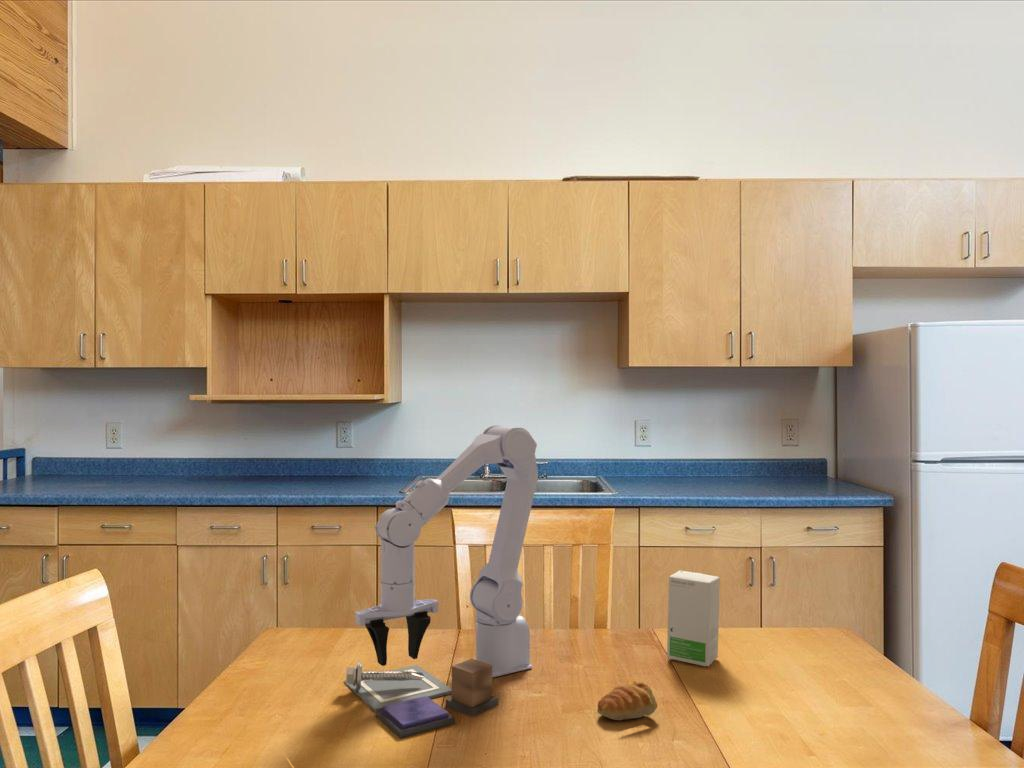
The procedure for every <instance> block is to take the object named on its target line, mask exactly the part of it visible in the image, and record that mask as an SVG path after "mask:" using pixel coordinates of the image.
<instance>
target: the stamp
mask: <svg viewBox="0 0 1024 768" xmlns="http://www.w3.org/2000/svg"><path fill="white" fill-rule="evenodd" d="M451 689H452V694H451V696H450V697H448V698H446V699H445V707H446V708H448V709H451V710H454V711H457V712H459V713H461V714H465V715H466V716H469V717H471V718H473V717H475V716H477V715H480V714H482V713H484V712H486V711H489V710H491V709H493V708H495V707H498V706H499V697H497V696H493V677H492V665H490V664H487V663H484V662H481V661H478V660H476V659H475V658H469V659H467V660H465V661H462V662H460V663H457V664H454V665H452V666H451Z"/></svg>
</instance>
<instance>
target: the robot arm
mask: <svg viewBox="0 0 1024 768" xmlns="http://www.w3.org/2000/svg"><path fill="white" fill-rule="evenodd" d="M536 451H537V442H536V441H535V439H534V437H533V436H532V435H531V432H529V431H528V430H527V429H526V428H523V427H519V426H516V427H509V426H501V425H495V424H493V425H490V426H489V427H487V428H486V429H484V431H483V432H482V433H480V434H478V435H476V436H475V438H474V439H473V441H472V442H471V443H470V445H469V446H467V448H466V449H464V451H463V452H462V453H461V454H459V456H457V458H456V459H455V460H454V461H452V462H451V464H450V465H448V466H447V468H446V469H444V471H442V473H441V474H439V475H438V477H437V478H430V477H429V478H426V479H425V480H418V481H417V482H416V483H415V485H414V486H415V488H414V489H413V490H412V491H411V492H410V493H409V494H408V495H406V497H405V498H403V499H402V500H399V499H398V500H397V501H396V502H395V503H394V505H395V508H388V509H387V510H385V511H383V512H381V514H380V516H379V517H378V519H379V520H378V521H377V522H376V523H377V524H375V525H374V529H375V533H376V534H377V536H378V538H379V539H380V604H379V605H377V606H376V605H375V606H373V607H369V608H366V609H362V610H358V611H354V613H355V614H354V623H355V624H356V625H357V626H359V627H362V626H365V628H366V630H367V632H368V634H369V636H370V640H371V642H372V643H373V646H374V650H375V654H376V660H377V663H378V664H379V665H380V666H382V667H384V666H387V662H388V654H387V653H388V652H387V651H388V650H387V648H388V647H387V645H388V637H389V631H390V627H388V626H387V625H386V622H385V621H387V620H388V621H389V620H395V619H399V618H404V617H405V619H406V625H407V634H408V635H407V636H408V638H407V639H408V641H407V649H408V651H407V653H408V657H409V658H411V659H413V660H417V659H418V657H419V653H420V652H419V651H420V648H421V644H422V642H423V638H424V636H425V633H426V631H427V629H428V628H429V625H430V624H431V620H432V619H431V616H430V615H428V613H429V614H430V613H431V614H435V613H439V600H436V599H434V598H430V599H429V598H428V599H416V600H415V542H417V541H418V539H419V537H420V534H421V530H422V528H423V527H424V526H425V525H427V523H428V522H429V521H431V519H433V518H434V517H435V516H436V515H437V514H438V513H439V512H440V511H442V510H443V508H444V507H445V506H446V505H448V504H449V502H450V501H449V500H450V493H451V492H452V491H453V490H455V488H457V487H458V486H460V485H461V484H462V483H463V482H464V481H465V480H468V478H469V477H470V476H471V475H473V474H474V473H475V472H477V471H478V469H479V470H480V468H482V466H485V465H493V464H495V465H497V466H498V467H499V468H500V471H502V473H503V474H504V477H506V479H507V480H506V485H505V489H504V493H503V494H504V495H503V498H502V502H501V503H502V504H501V507H500V512H499V515H498V518H497V519H498V520H497V524H496V528H495V534H494V537H493V540H492V541H493V542H492V544H491V550H490V554H489V558H488V562H487V563H486V564H485V565H484V566H482V567H481V569H480V570H479V573H478V577H477V579H476V581H475V582H474V583H473V584H472V587H471V588H470V590H469V591H470V593H469V600H470V604H471V605H472V607H473V608H474V609H475V621H476V623H475V625H476V626H475V636H476V637H475V642H476V643H475V646H476V647H475V648H476V649H475V658H476V659H475V660H478V661H481V662H484V663H487V664H490V665H492V678H496V677H500V676H505V675H508V674H513V673H517V672H520V671H525V670H529V669H533V665H532V664H531V663H530V662H531V661H530V660H531V659H530V658H531V647H530V646H531V637H530V636H531V634H530V627H529V624H528V621H527V619H526V618H525V617H524V616H522V615H521V612H522V610H523V596H522V590H523V585H524V584H523V580H522V578H521V576H520V574H519V570H518V567H519V564H520V559H521V554H522V551H523V550H522V549H523V545H524V541H525V537H526V532H527V528H528V523H529V518H530V513H531V511H532V506H533V501H534V496H535V492H536V488H537V484H538V478H539V470H538V463H537V459H536Z"/></svg>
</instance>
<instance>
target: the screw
mask: <svg viewBox="0 0 1024 768" xmlns="http://www.w3.org/2000/svg"><path fill="white" fill-rule="evenodd" d="M362 669H363V662H361V660H358V661H357V665H354V667H347V668H346V676H345V678H346V679H345V680H346V684H353V686H355V685H356V692H358V690H360V687H361V681H362V682H363V681H369V682H370V681H376V682H377V681H380V682H381V681H387V682H388V681H394V682H395V681H401V682H402V681H409V680H422V679H423V678H424V674H423V673H422V672H408V671H407V672H406V671H401V670H400V671H394V670H395V669H393V671H392V670H388V671H387V670H386V669H385V670H380V669H378V671H377V669H376V670H371V671H370V670H367V671H366V670H362ZM346 684H345V685H346Z"/></svg>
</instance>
